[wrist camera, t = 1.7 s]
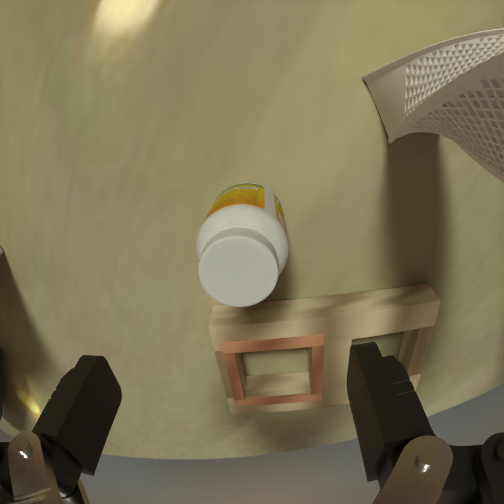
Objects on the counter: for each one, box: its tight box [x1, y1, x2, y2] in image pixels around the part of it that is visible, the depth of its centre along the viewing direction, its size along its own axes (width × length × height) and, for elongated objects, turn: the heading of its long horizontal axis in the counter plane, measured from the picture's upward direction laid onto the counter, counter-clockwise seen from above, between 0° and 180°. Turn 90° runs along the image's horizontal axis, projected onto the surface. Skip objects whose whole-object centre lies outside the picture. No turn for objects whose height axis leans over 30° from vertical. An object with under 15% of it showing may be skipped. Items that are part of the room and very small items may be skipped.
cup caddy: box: [209, 283, 441, 414], centre depth 28 cm, size 20×12×3 cm, turn 97°
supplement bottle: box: [196, 183, 289, 307], centre depth 20 cm, size 5×5×10 cm
